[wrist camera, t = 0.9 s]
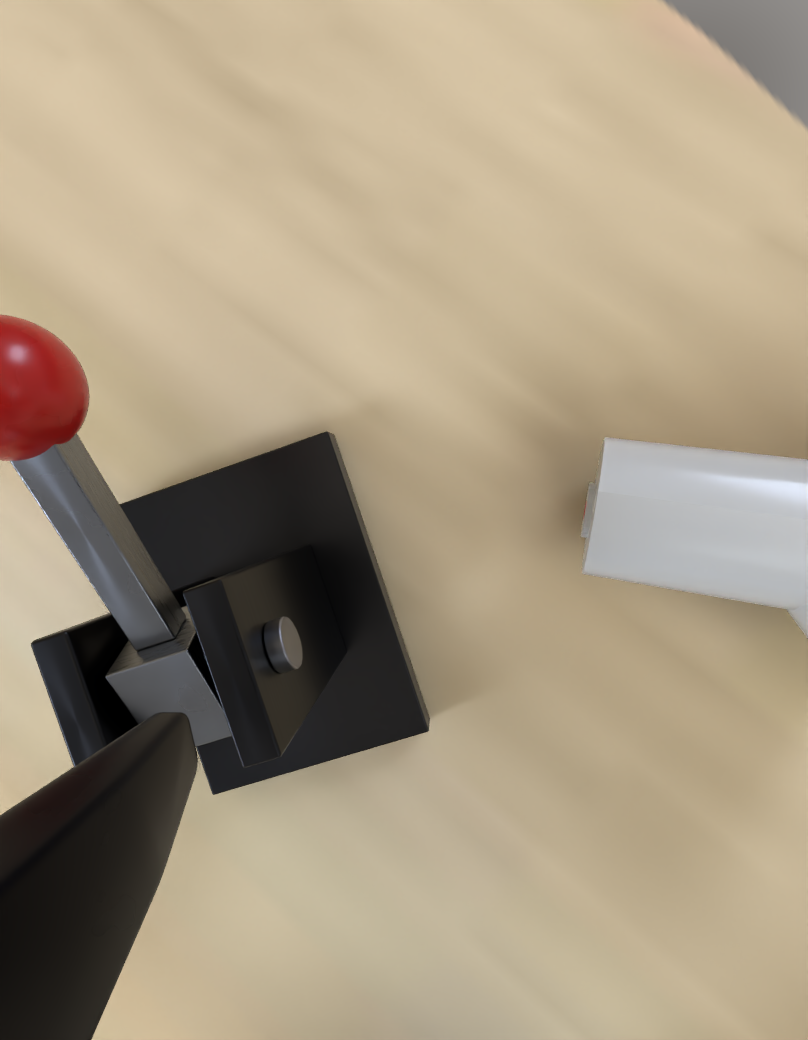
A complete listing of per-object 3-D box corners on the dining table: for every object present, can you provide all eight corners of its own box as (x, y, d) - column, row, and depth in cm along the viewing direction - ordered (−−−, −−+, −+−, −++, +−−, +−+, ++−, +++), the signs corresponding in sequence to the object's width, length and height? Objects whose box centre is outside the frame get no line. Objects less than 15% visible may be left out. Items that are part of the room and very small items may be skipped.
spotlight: (897, 686, 20) (1111, 727, 12) (564, 621, 23) (571, 621, 16) (916, 465, 21) (1126, 375, 13) (595, 430, 24) (615, 341, 17)
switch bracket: (128, 505, 24) (-99, 517, 14) (334, 433, 23) (246, 391, 13) (224, 780, 24) (67, 982, 14) (430, 719, 23) (415, 888, 13)
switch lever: (-51, 336, 13) (-165, 354, 10) (66, 289, 13) (-18, 296, 10) (179, 691, 17) (142, 771, 15) (271, 663, 17) (251, 738, 14)
